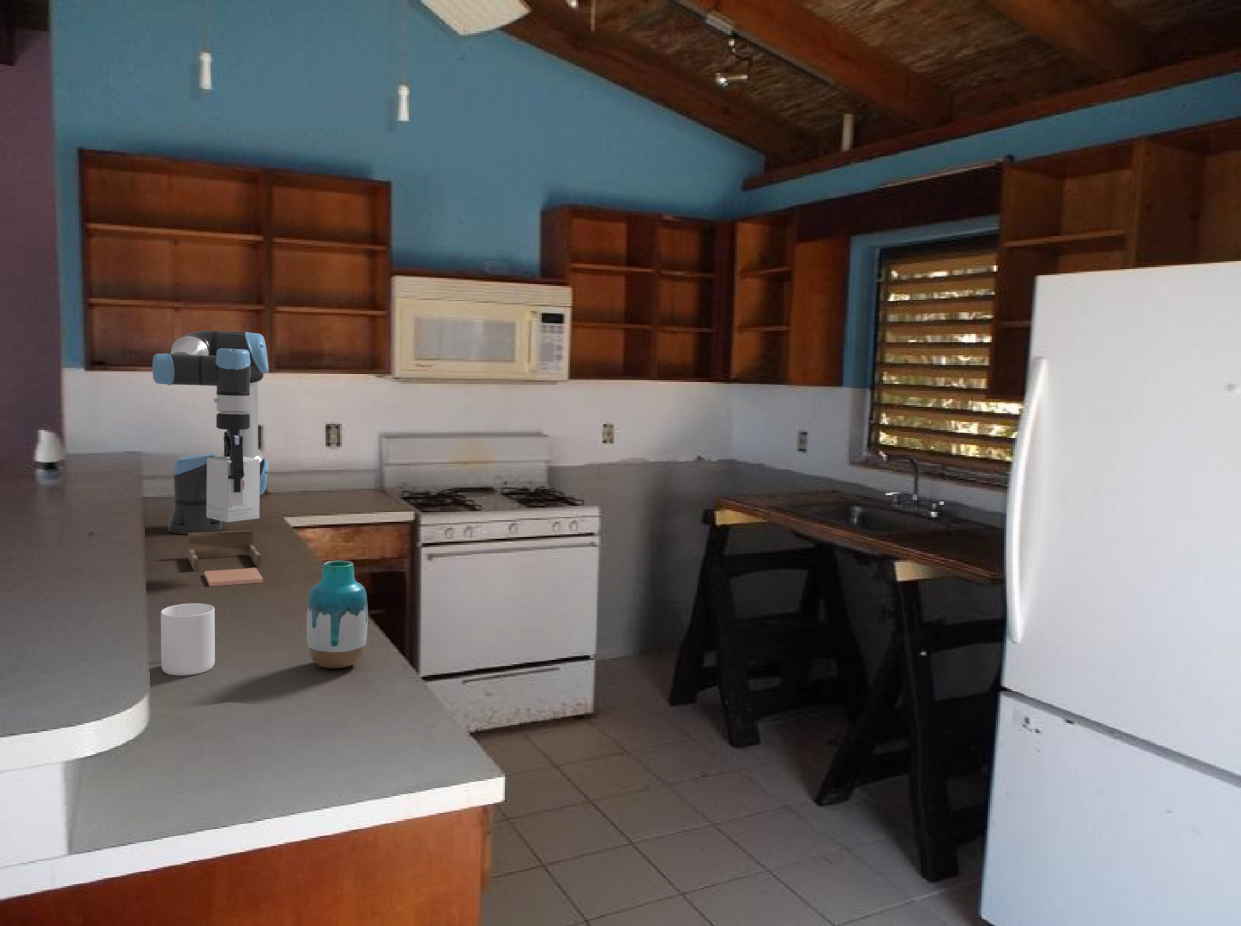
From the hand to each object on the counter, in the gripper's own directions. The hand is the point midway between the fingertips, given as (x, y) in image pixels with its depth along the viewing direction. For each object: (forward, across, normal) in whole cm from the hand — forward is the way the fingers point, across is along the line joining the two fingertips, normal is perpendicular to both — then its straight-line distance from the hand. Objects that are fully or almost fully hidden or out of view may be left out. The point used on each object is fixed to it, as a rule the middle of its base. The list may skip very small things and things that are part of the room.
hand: (233, 501), depth 223 cm
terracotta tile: (+19, 0, 0) cm, 19 cm away
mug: (+20, +63, -15) cm, 68 cm away
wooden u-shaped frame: (+19, -19, 0) cm, 27 cm away
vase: (+20, +73, +9) cm, 76 cm away
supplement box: (+4, 0, 0) cm, 4 cm away
